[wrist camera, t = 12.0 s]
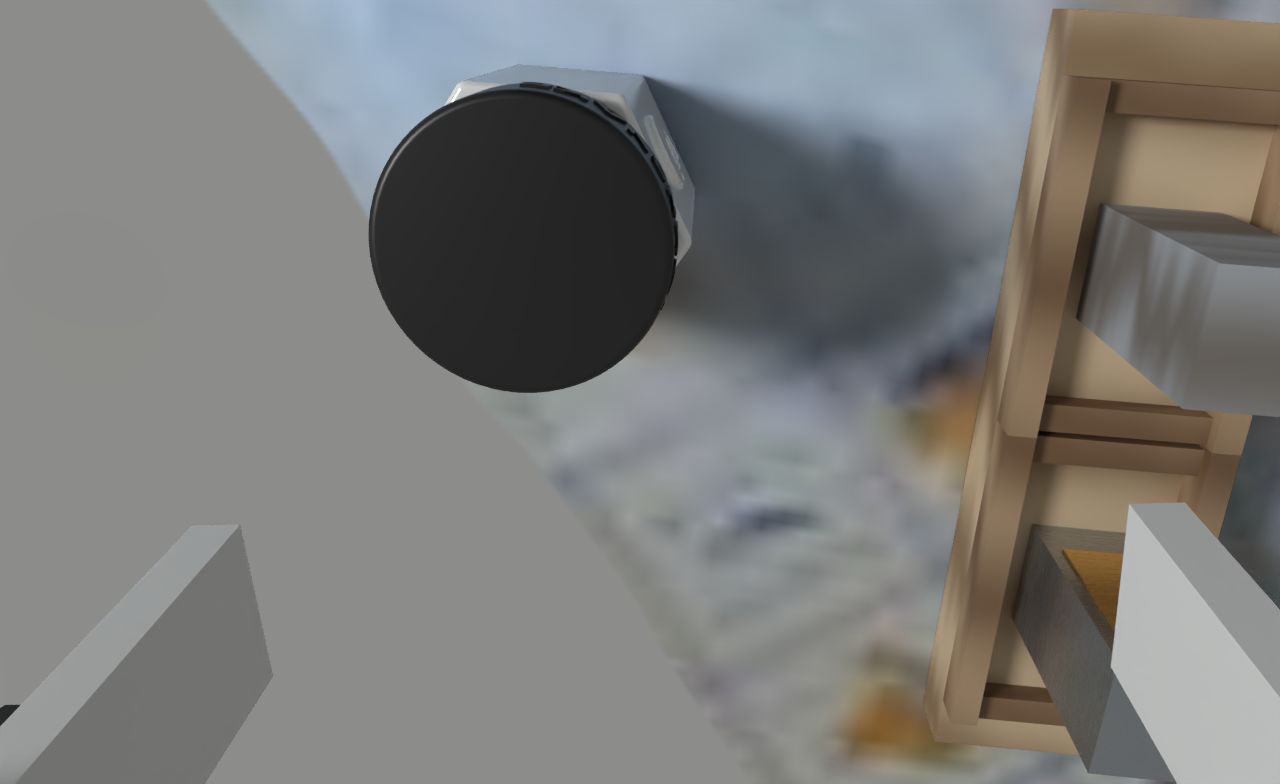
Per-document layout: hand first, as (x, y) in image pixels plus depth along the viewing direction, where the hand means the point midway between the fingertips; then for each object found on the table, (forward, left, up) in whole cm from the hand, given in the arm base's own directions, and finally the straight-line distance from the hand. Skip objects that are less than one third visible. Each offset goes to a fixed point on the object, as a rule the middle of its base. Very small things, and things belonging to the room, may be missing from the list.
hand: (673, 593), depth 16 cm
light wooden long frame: (+5, +15, -25) cm, 30 cm away
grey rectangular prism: (+11, +15, -23) cm, 30 cm away
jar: (-2, -5, -26) cm, 26 cm away
